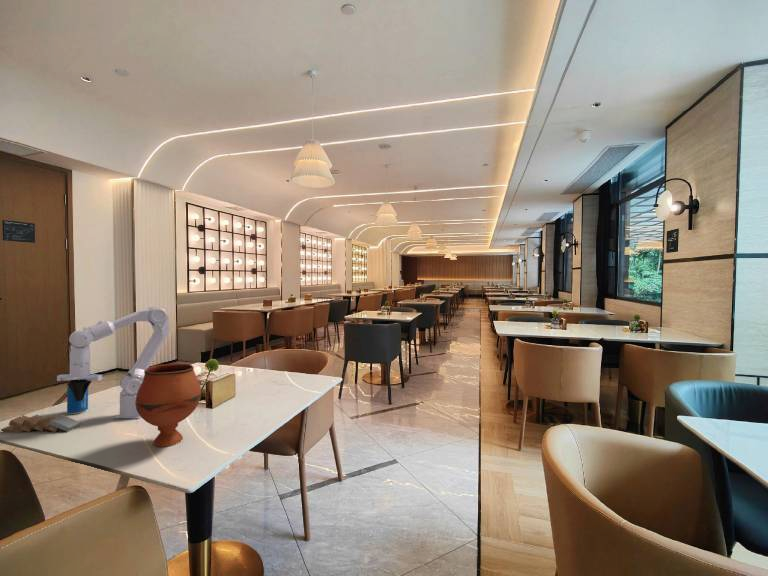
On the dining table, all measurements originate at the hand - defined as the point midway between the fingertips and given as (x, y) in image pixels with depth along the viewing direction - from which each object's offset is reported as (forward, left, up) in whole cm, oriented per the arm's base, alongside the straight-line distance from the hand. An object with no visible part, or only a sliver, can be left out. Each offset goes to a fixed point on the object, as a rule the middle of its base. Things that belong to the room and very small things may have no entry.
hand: (79, 400), depth 132 cm
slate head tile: (-1, +3, -9) cm, 9 cm away
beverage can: (+11, -14, -10) cm, 20 cm away
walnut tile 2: (+3, +4, -9) cm, 10 cm away
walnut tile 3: (+8, +3, -9) cm, 12 cm away
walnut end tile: (+15, +3, -9) cm, 18 cm away
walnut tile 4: (+12, +4, -9) cm, 15 cm away
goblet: (-40, +13, -10) cm, 43 cm away
